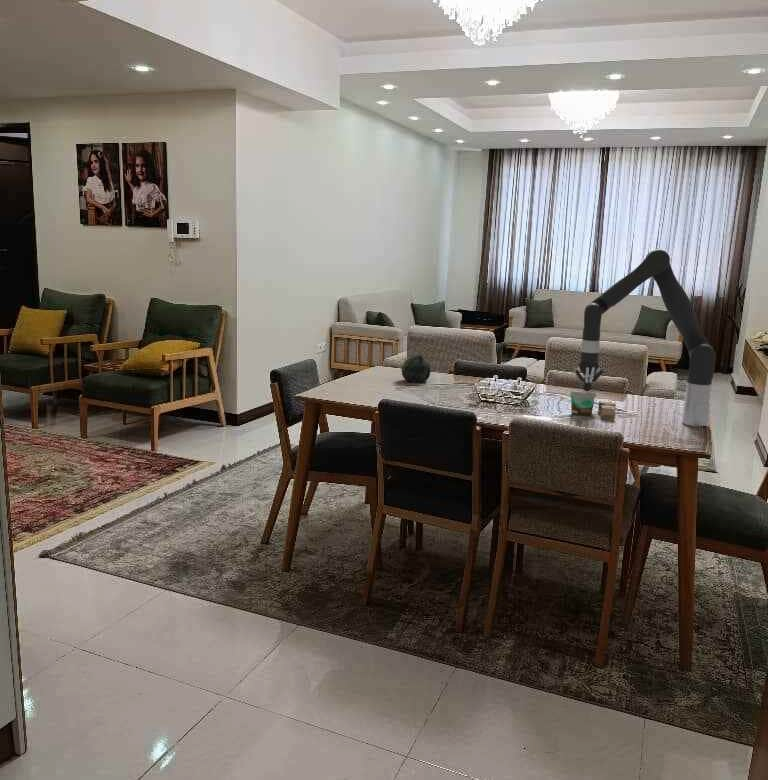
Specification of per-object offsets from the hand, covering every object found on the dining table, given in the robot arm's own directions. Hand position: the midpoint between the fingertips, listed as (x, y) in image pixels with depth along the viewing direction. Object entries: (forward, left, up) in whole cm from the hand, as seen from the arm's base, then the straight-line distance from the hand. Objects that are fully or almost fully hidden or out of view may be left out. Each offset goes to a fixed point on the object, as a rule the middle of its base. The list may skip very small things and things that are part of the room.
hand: (586, 390), depth 301 cm
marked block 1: (+1, -10, -10) cm, 14 cm away
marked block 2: (-7, -7, -10) cm, 14 cm away
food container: (0, 0, -10) cm, 10 cm away
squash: (+72, +63, -10) cm, 96 cm away
